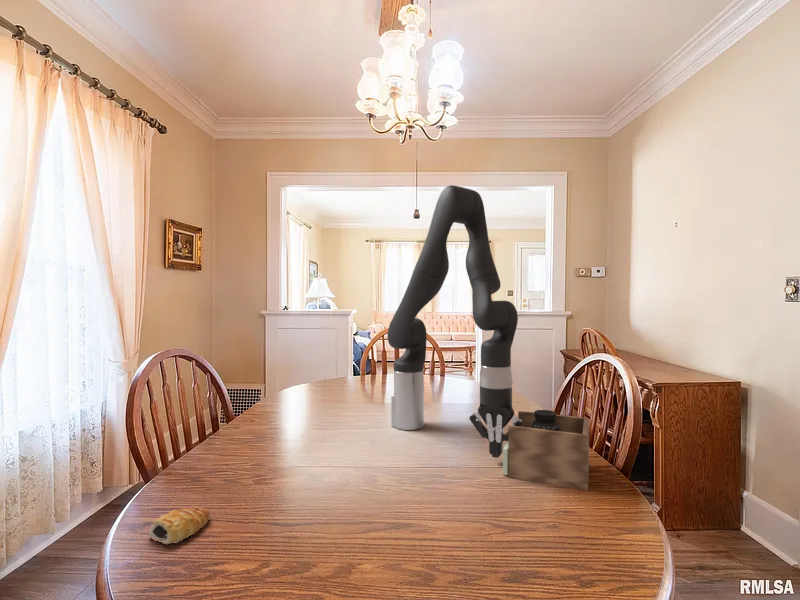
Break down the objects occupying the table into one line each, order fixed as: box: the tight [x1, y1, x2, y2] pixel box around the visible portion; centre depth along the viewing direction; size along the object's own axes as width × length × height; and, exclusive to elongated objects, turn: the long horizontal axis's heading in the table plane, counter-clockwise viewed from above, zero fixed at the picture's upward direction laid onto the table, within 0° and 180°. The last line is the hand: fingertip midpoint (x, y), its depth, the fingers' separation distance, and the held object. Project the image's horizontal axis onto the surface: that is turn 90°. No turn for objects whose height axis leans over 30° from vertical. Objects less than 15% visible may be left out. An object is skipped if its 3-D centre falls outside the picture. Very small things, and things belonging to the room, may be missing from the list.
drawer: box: [502, 441, 509, 476], centre depth 97 cm, size 16×14×6 cm
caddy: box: [507, 410, 590, 491], centre depth 96 cm, size 16×14×11 cm
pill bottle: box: [531, 409, 559, 431], centre depth 97 cm, size 6×6×11 cm
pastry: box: [148, 505, 211, 545], centre depth 73 cm, size 9×7×4 cm
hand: (496, 456), depth 101 cm, fingers closed
